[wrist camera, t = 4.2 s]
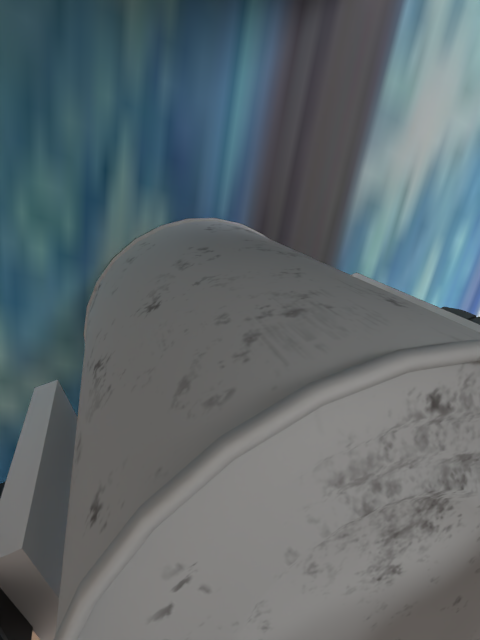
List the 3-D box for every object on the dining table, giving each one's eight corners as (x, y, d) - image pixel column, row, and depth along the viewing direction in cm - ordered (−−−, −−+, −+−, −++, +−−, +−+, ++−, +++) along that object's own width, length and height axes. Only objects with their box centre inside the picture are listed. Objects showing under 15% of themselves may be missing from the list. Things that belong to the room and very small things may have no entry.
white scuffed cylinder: (341, 316, 19) (666, 524, 8) (205, 458, 19) (337, 836, 8) (200, 161, 14) (498, 151, 4) (29, 350, 15) (-174, 851, 4)
